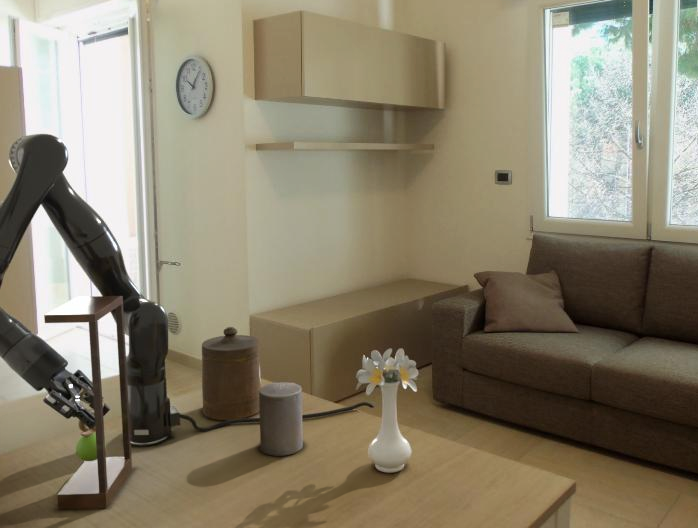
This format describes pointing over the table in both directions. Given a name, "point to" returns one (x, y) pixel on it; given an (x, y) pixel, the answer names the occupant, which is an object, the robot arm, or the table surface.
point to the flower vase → (388, 406)
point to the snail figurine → (87, 442)
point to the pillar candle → (280, 418)
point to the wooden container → (230, 376)
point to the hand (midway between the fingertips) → (101, 418)
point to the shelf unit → (97, 409)
